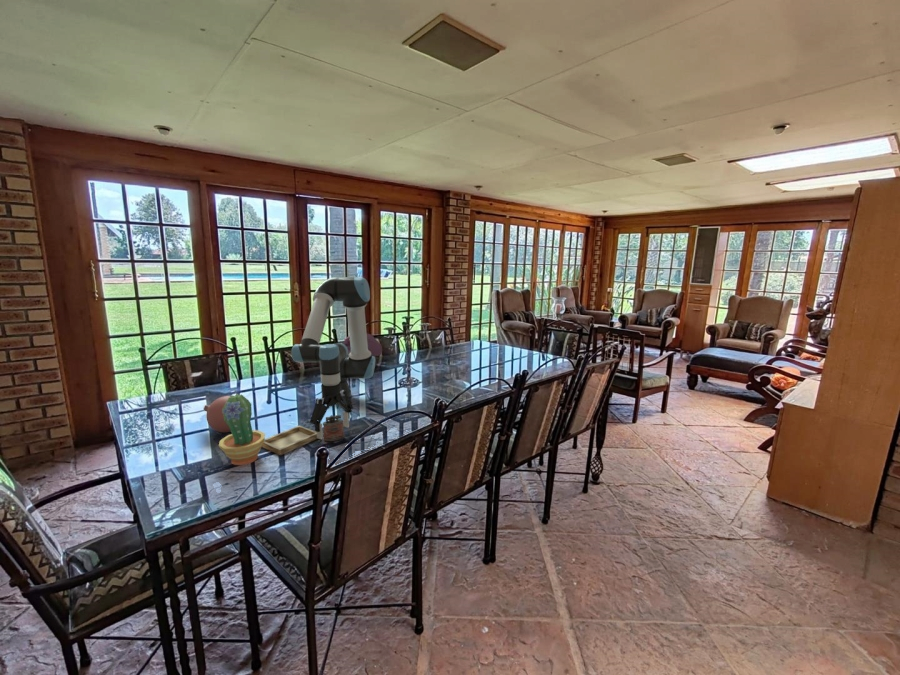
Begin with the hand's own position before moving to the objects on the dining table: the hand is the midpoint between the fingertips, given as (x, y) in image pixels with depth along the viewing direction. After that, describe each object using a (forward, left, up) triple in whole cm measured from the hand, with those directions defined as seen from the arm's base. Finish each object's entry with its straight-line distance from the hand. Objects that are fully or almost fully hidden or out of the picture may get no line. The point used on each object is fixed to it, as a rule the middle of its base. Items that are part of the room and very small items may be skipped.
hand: (333, 432), depth 164 cm
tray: (+12, -12, -3) cm, 17 cm away
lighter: (0, 0, -3) cm, 3 cm away
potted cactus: (+30, -14, -3) cm, 33 cm away
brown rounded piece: (+21, -45, -3) cm, 50 cm away
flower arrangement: (-73, -67, -3) cm, 99 cm away
